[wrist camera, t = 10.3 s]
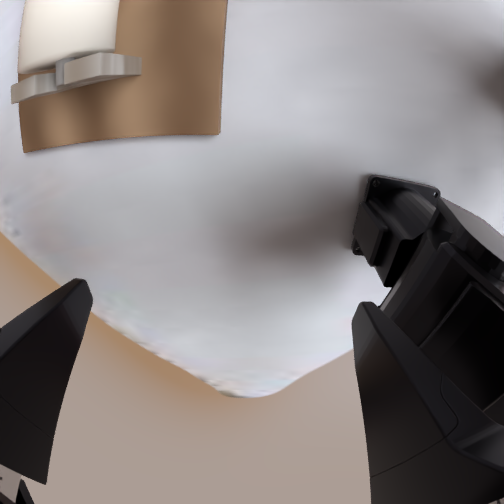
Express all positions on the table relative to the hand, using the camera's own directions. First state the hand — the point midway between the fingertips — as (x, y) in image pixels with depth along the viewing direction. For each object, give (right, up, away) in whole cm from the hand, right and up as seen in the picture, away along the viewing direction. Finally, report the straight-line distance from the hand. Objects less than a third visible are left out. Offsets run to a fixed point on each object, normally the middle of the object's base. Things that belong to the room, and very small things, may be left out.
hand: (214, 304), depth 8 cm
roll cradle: (-9, +18, +3) cm, 20 cm away
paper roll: (-9, +15, -1) cm, 18 cm away
